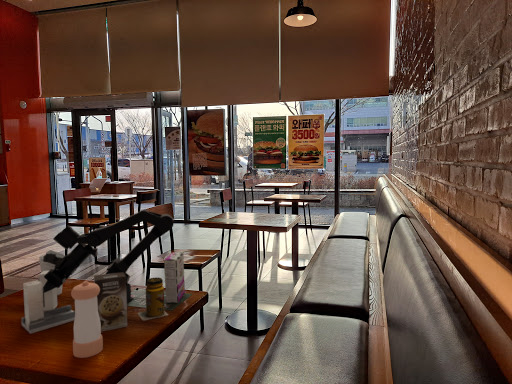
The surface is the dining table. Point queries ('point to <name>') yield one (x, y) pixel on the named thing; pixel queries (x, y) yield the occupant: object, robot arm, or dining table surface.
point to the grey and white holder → (35, 313)
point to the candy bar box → (174, 277)
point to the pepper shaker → (86, 321)
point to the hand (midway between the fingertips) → (44, 290)
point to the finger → (48, 294)
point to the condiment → (154, 300)
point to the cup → (47, 267)
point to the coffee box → (112, 300)
